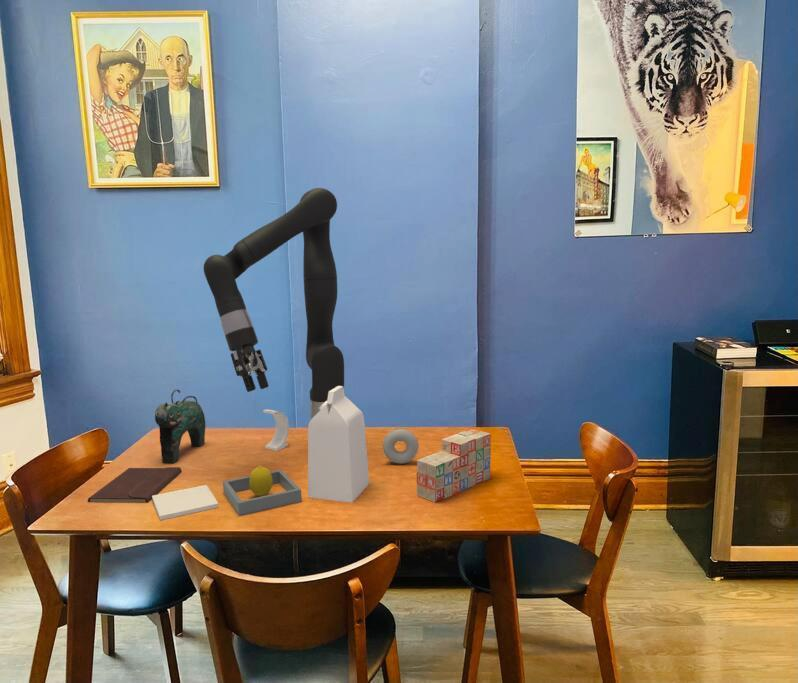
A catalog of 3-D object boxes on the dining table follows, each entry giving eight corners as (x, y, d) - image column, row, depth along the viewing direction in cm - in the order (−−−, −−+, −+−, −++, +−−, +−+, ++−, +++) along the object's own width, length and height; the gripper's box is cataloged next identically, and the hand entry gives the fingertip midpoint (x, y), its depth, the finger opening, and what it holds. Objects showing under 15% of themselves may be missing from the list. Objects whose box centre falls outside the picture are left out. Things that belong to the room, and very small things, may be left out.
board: (206, 488, 155) (206, 484, 155) (218, 507, 144) (218, 503, 144) (152, 499, 149) (151, 495, 149) (160, 520, 138) (159, 516, 138)
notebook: (88, 504, 148) (87, 496, 148) (128, 473, 168) (127, 466, 167) (148, 504, 147) (147, 497, 147) (181, 473, 167) (181, 466, 166)
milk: (352, 502, 145) (349, 396, 141) (308, 497, 149) (303, 393, 144) (369, 483, 157) (366, 384, 152) (327, 479, 160) (324, 382, 156)
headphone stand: (265, 448, 184) (262, 410, 183) (278, 442, 190) (276, 405, 188) (276, 451, 182) (274, 411, 180) (290, 445, 187) (288, 407, 185)
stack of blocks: (435, 503, 144) (435, 453, 142) (416, 496, 149) (415, 447, 147) (490, 478, 159) (491, 432, 157) (472, 472, 163) (472, 427, 161)
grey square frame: (281, 480, 159) (281, 469, 159) (301, 501, 146) (301, 489, 146) (223, 492, 152) (222, 481, 152) (239, 515, 139) (238, 503, 139)
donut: (382, 465, 169) (381, 430, 167) (383, 461, 172) (382, 427, 170) (418, 465, 168) (418, 430, 167) (418, 461, 172) (418, 427, 170)
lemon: (267, 502, 146) (266, 470, 145) (246, 501, 147) (244, 469, 146) (276, 493, 151) (275, 462, 150) (256, 491, 153) (254, 461, 151)
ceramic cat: (172, 466, 171) (167, 397, 168) (152, 464, 173) (146, 396, 169) (210, 443, 190) (206, 380, 187) (192, 442, 192) (187, 380, 188)
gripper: (240, 324, 151) (260, 387, 150) (262, 325, 165) (281, 382, 164) (213, 334, 152) (233, 396, 151) (237, 335, 166) (256, 391, 165)
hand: (258, 389), depth 158 cm, fingers open, 8 cm apart
